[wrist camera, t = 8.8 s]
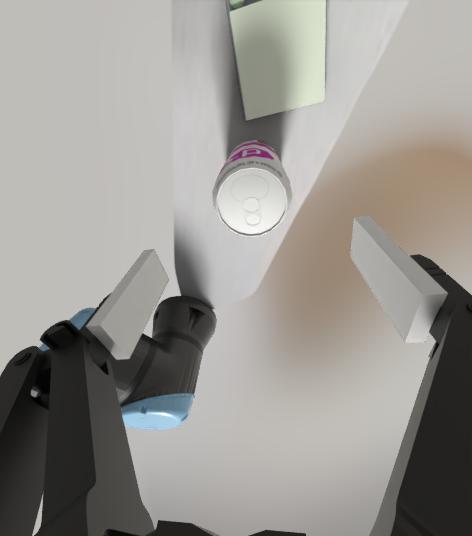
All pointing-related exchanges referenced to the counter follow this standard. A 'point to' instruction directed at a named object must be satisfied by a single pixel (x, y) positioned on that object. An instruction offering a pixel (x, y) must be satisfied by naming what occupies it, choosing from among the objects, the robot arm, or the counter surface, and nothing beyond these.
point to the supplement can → (252, 190)
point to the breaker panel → (278, 53)
